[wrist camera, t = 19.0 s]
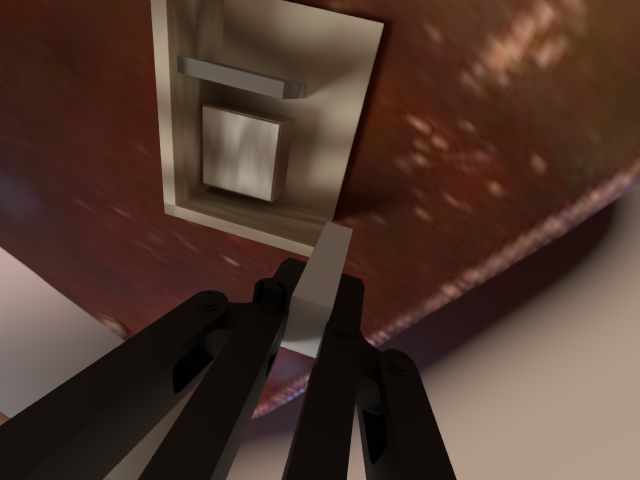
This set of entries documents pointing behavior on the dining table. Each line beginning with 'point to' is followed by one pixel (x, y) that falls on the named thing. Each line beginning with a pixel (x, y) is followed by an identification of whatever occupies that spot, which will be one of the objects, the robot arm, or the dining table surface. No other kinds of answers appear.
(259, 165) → the tall mauve wooden block
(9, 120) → the dining table surface
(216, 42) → the shelf
